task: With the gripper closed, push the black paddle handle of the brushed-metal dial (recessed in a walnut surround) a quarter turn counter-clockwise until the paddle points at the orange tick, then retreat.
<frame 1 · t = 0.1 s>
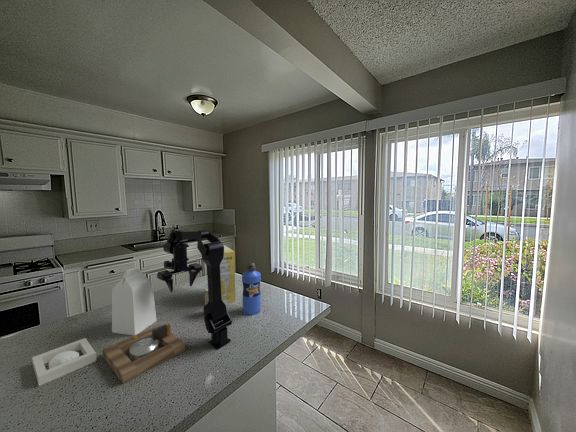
hand: (181, 289, 109), 15 cm above the countertop, fingers open, 9 cm apart
garlic: (65, 364, 81), resting in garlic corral
surround: (144, 353, 86), on the countertop
water bottle: (251, 310, 119), on the countertop
milk: (135, 326, 104), on the countertop
skincare box: (212, 313, 116), on the countertop
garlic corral: (65, 363, 81), on the countertop
pasta box: (221, 297, 134), on the countertop
dial: (151, 340, 88), point 4 cm above the countertop, hinge at 0.0°
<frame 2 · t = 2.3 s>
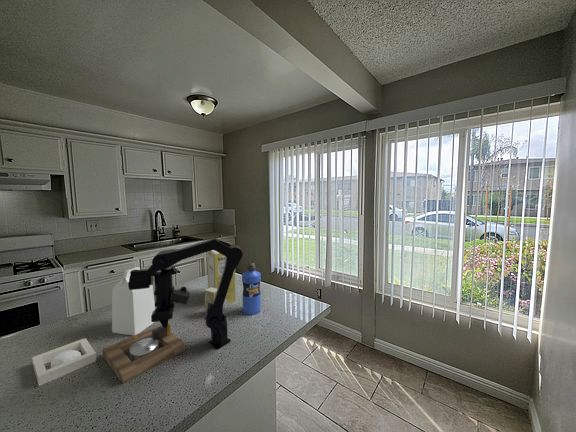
hand: (165, 327, 87), 10 cm above the countertop, fingers closed
nothing on the countertop moved.
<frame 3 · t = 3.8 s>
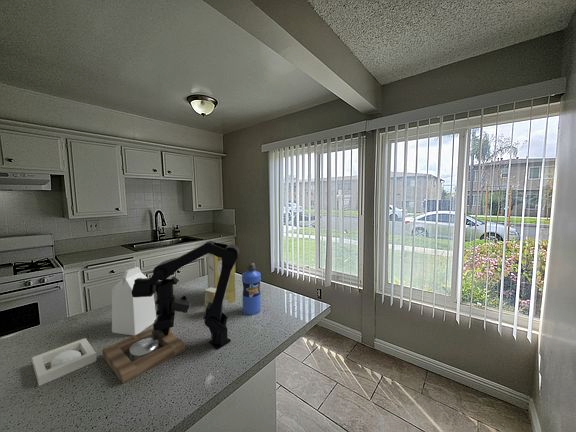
hand: (166, 335, 90), 5 cm above the countertop, fingers closed
dial: (151, 340, 88), point 4 cm above the countertop, hinge at 0.2°, touching gripper
everything else where it was.
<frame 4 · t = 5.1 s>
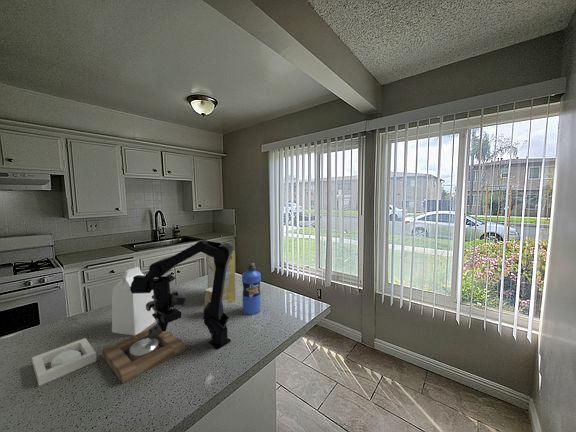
hand: (164, 331, 92), 5 cm above the countertop, fingers closed
dial: (149, 339, 88), point 4 cm above the countertop, hinge at 24.8°, touching gripper
everything else where it was.
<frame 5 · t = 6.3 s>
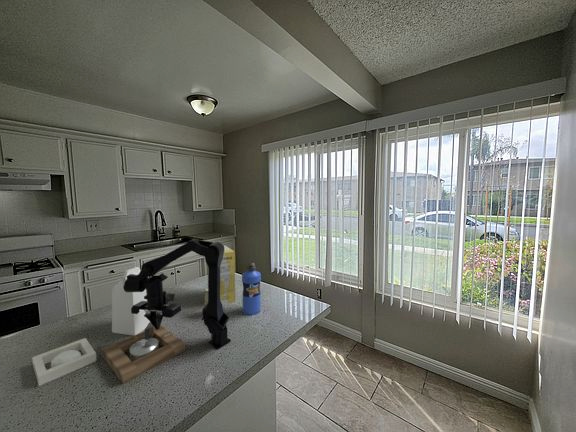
hand: (157, 329, 93), 5 cm above the countertop, fingers closed
dial: (146, 339, 88), point 4 cm above the countertop, hinge at 51.2°, touching gripper
everything else where it was.
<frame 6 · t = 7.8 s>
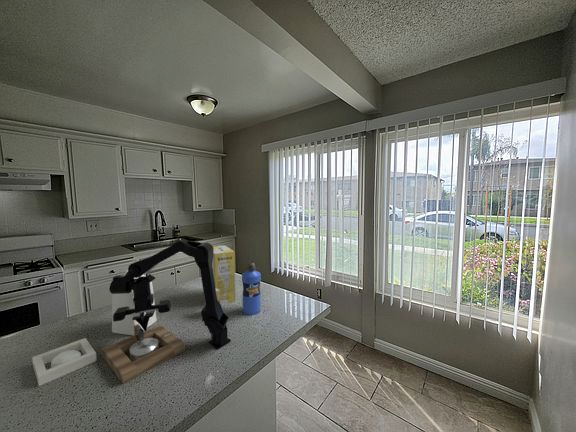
hand: (145, 330, 93), 5 cm above the countertop, fingers closed
dial: (142, 340, 88), point 4 cm above the countertop, hinge at 85.8°, touching gripper
everything else where it was.
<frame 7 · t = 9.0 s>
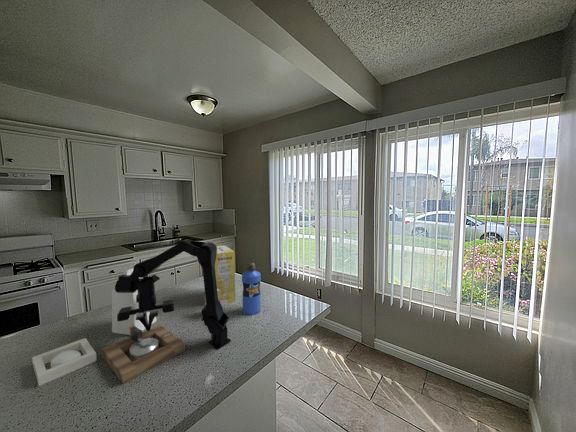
hand: (148, 330, 93), 5 cm above the countertop, fingers closed
dial: (141, 341, 87), point 4 cm above the countertop, hinge at 95.1°
everything else where it was.
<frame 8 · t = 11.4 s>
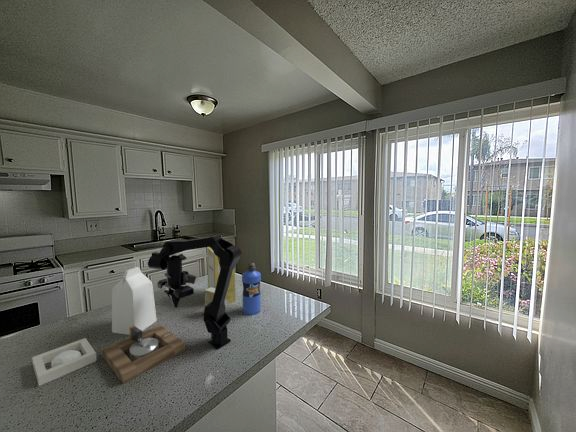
hand: (175, 307, 97), 12 cm above the countertop, fingers closed
nothing on the countertop moved.
at the end: dial at +95° (first picture: +0°) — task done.
